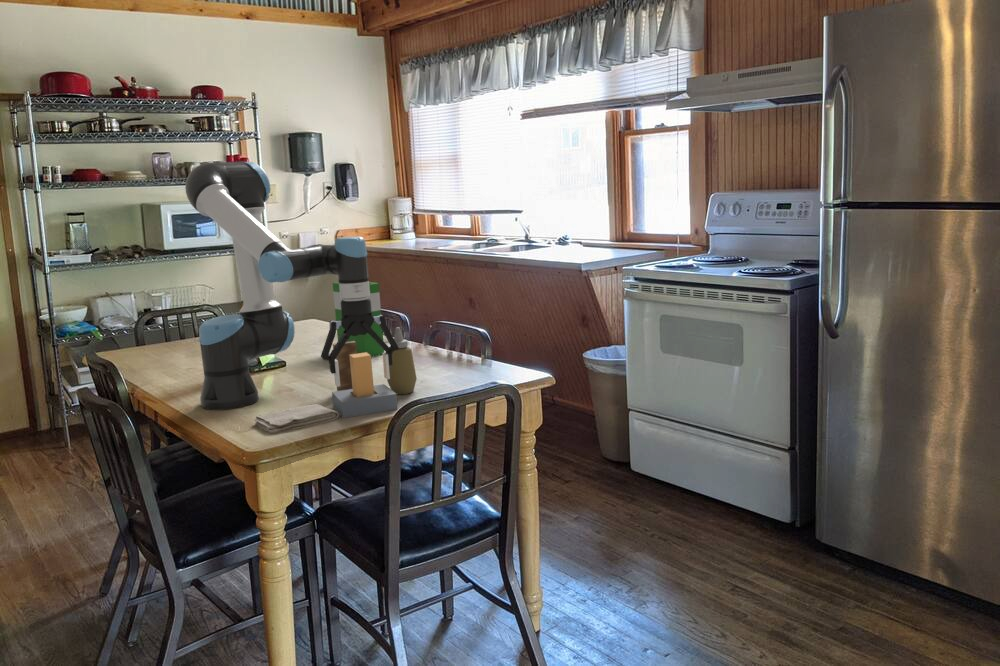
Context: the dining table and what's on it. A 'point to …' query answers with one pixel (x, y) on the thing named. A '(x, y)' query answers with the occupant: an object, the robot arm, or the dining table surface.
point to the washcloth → (295, 418)
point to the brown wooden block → (345, 365)
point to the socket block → (364, 401)
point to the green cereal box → (366, 341)
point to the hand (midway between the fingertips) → (362, 381)
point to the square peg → (361, 374)
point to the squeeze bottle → (402, 367)
